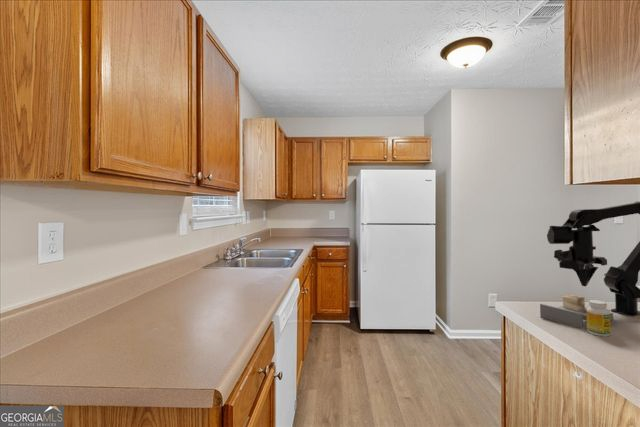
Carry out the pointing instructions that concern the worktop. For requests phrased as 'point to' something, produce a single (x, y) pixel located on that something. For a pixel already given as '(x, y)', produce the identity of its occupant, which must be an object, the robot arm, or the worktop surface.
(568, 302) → the maple block
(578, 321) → the trap board
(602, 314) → the supplement bottle
